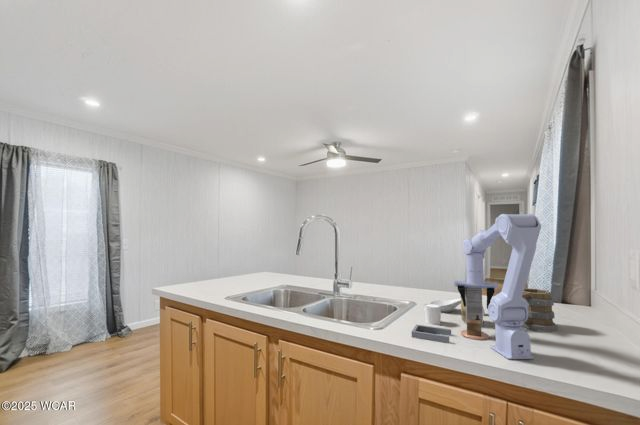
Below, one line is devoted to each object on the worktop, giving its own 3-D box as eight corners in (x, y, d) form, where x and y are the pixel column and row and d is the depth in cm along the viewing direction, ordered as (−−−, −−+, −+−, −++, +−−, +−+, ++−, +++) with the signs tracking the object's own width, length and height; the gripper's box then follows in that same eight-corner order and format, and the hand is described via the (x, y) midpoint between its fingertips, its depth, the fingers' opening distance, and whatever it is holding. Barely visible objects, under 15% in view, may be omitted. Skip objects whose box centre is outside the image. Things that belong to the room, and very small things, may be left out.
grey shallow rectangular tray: (451, 334, 108) (451, 329, 108) (449, 343, 100) (448, 337, 101) (416, 329, 114) (416, 324, 114) (411, 337, 106) (411, 331, 106)
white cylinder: (423, 323, 122) (422, 306, 122) (425, 319, 128) (425, 302, 128) (440, 325, 119) (440, 308, 119) (442, 321, 125) (442, 304, 125)
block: (481, 333, 108) (481, 320, 109) (481, 336, 104) (480, 324, 105) (467, 331, 110) (467, 318, 111) (467, 334, 107) (466, 322, 107)
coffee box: (460, 319, 128) (459, 281, 129) (476, 319, 126) (475, 282, 127) (466, 325, 119) (465, 285, 120) (484, 326, 117) (482, 286, 118)
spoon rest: (428, 312, 139) (428, 297, 140) (431, 306, 150) (430, 292, 150) (485, 318, 129) (484, 302, 129) (484, 312, 139) (483, 296, 140)
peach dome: (494, 339, 103) (494, 338, 103) (468, 340, 103) (468, 338, 103) (480, 331, 112) (479, 329, 112) (456, 331, 112) (456, 329, 112)
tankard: (531, 319, 126) (529, 284, 127) (564, 328, 114) (561, 289, 115) (497, 325, 119) (495, 287, 120) (528, 335, 107) (526, 293, 108)
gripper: (496, 270, 112) (497, 306, 111) (454, 268, 118) (455, 302, 118) (497, 273, 106) (499, 311, 105) (453, 270, 112) (454, 306, 111)
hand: (476, 307), depth 111 cm, fingers open, 7 cm apart
